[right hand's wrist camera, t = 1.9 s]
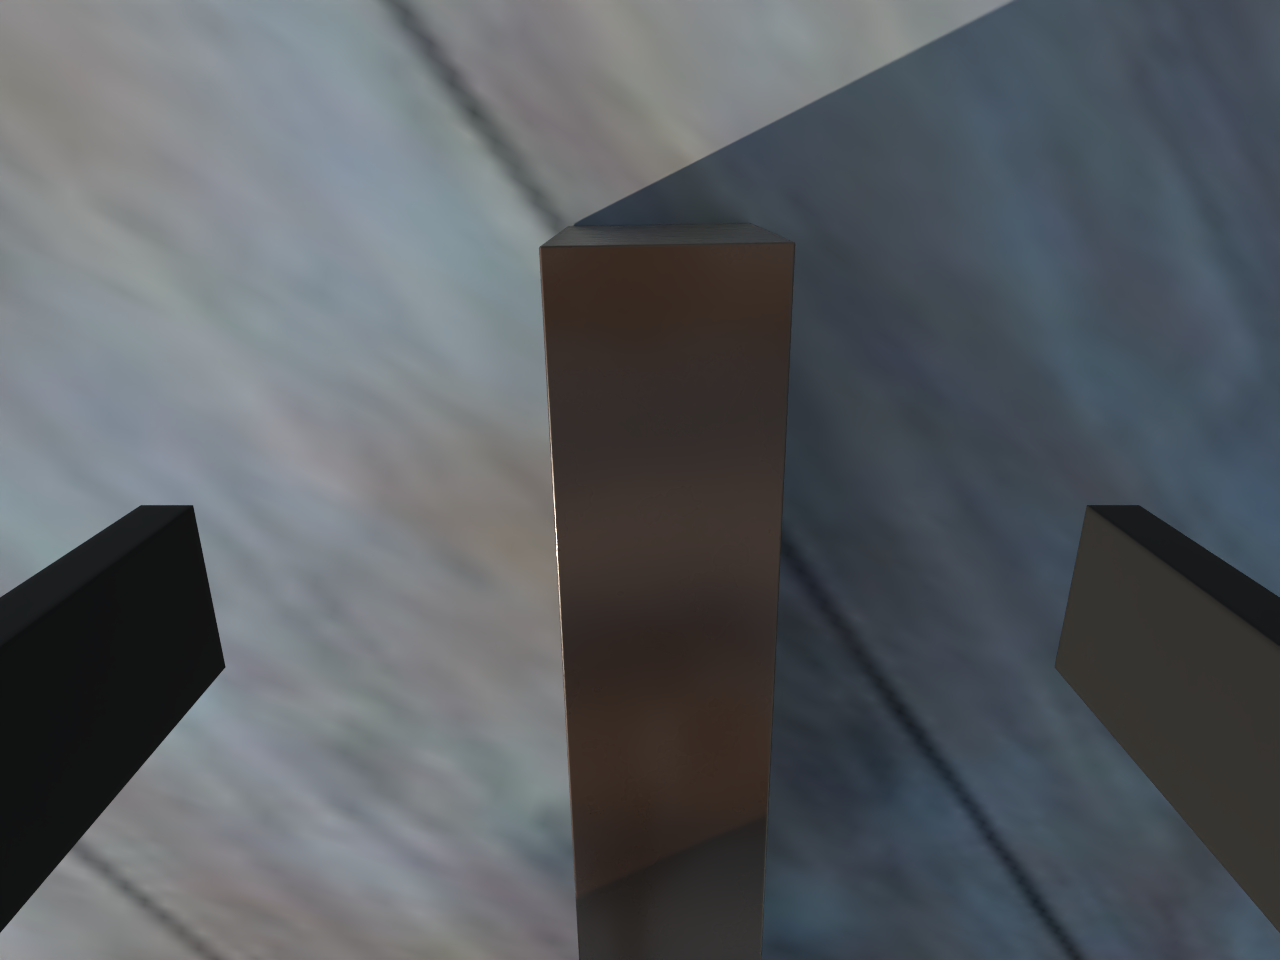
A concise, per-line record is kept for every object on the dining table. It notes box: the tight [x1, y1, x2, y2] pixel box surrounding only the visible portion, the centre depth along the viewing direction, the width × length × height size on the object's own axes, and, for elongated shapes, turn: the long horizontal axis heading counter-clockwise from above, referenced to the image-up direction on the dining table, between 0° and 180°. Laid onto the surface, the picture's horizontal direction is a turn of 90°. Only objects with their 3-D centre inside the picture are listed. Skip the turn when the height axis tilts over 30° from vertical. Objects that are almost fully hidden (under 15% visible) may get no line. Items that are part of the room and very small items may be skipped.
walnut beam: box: [539, 223, 795, 960], centre depth 29 cm, size 36×6×8 cm, turn 1°
